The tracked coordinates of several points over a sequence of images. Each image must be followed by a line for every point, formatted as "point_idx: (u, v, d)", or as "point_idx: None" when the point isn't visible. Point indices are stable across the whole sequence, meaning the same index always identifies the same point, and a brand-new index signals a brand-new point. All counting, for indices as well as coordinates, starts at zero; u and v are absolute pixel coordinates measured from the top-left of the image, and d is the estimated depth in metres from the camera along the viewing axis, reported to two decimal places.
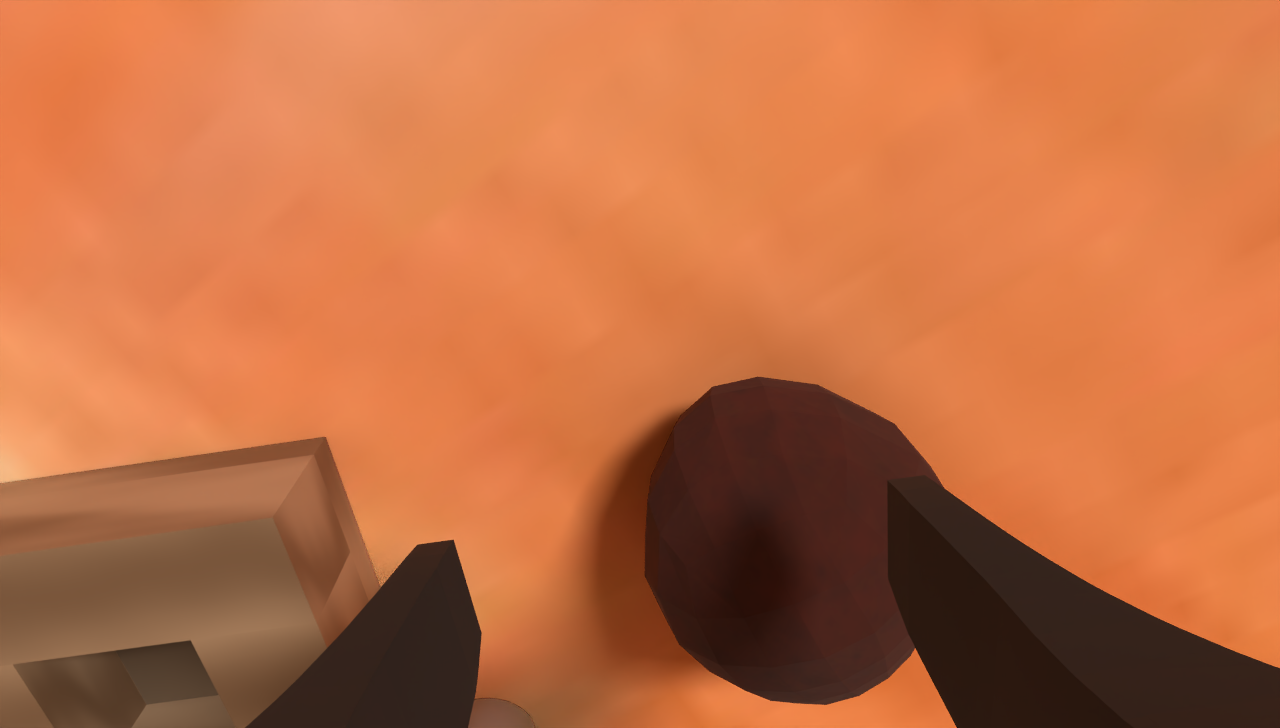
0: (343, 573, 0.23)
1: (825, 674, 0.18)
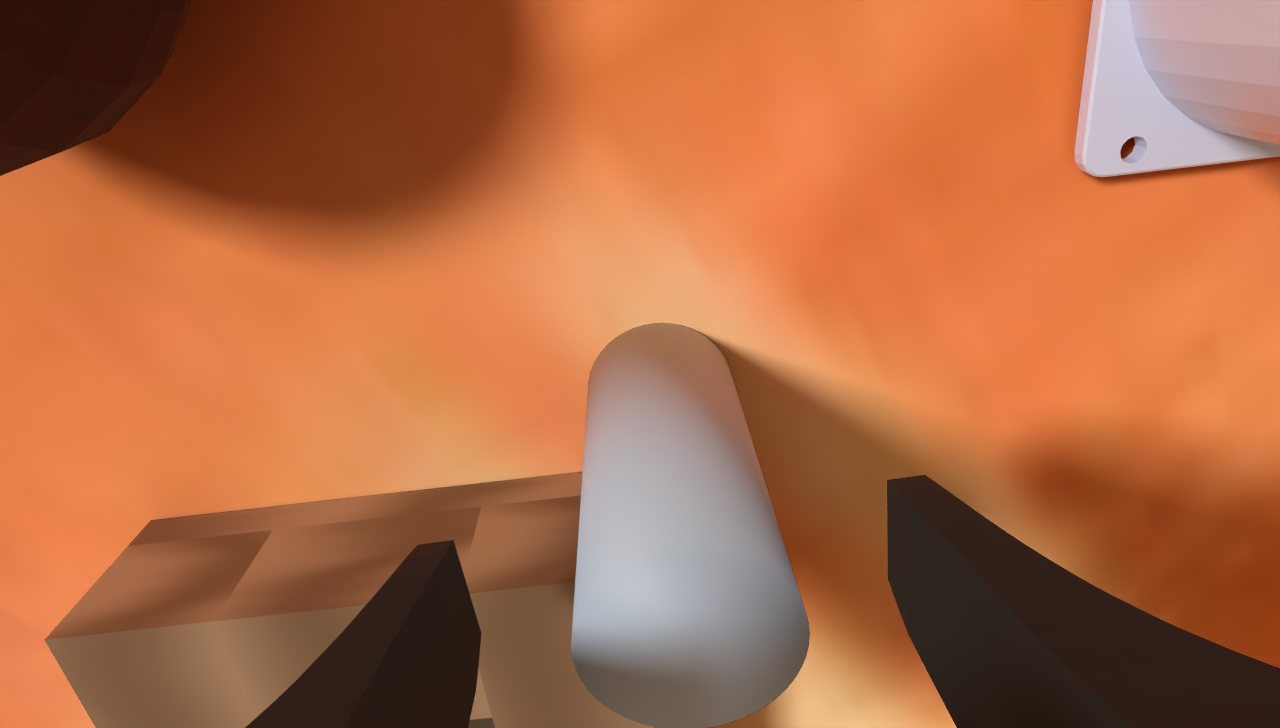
0: (265, 551, 0.18)
1: None
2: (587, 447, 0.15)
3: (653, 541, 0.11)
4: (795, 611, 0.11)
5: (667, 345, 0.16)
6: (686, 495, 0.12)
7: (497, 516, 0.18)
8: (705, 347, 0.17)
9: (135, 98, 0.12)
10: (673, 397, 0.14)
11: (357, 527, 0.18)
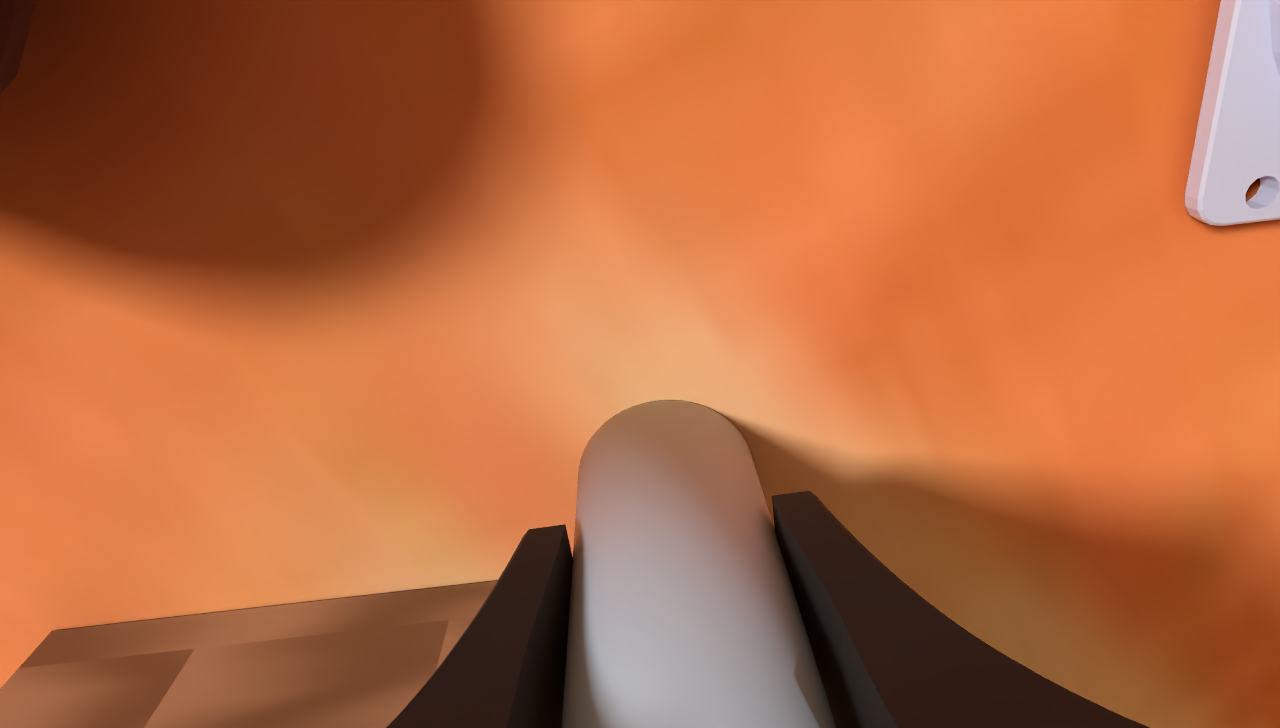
0: (181, 680, 0.14)
1: None
2: (575, 577, 0.12)
3: None
4: None
5: (676, 434, 0.13)
6: (710, 695, 0.08)
7: None
8: (722, 432, 0.14)
9: None
10: (686, 516, 0.11)
11: (297, 648, 0.15)
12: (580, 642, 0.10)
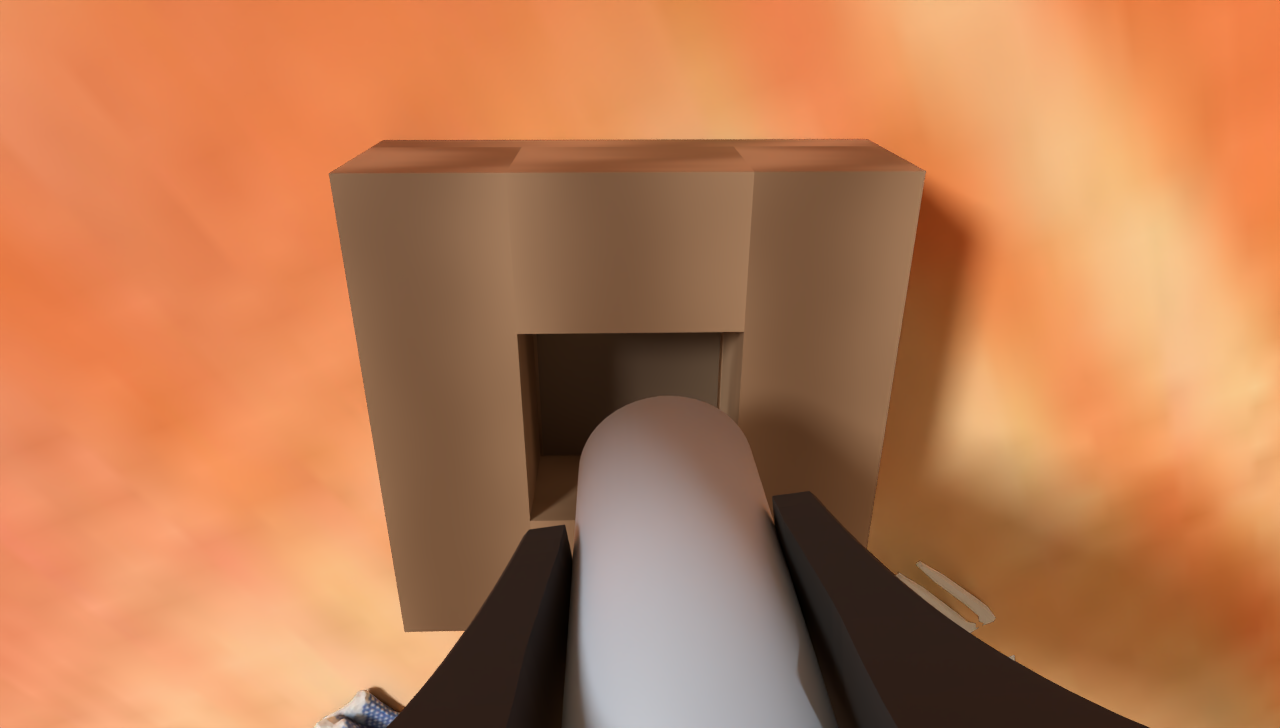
0: (524, 153, 0.18)
1: None
2: (577, 569, 0.12)
3: None
4: None
5: (679, 429, 0.13)
6: (716, 686, 0.08)
7: (755, 149, 0.18)
8: (724, 429, 0.14)
9: None
10: (690, 511, 0.11)
11: (612, 149, 0.18)
12: (582, 633, 0.10)
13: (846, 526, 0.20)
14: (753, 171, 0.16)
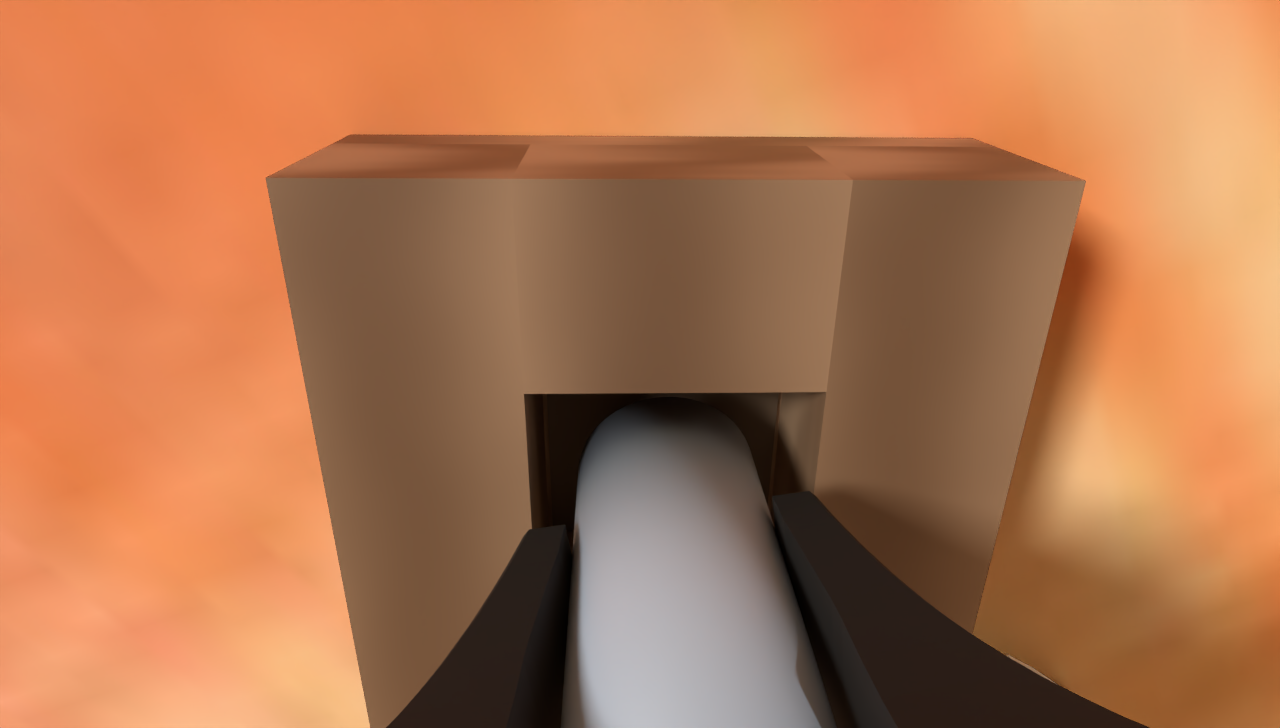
0: (534, 152, 0.13)
1: None
2: (576, 570, 0.12)
3: None
4: None
5: (678, 430, 0.13)
6: (714, 688, 0.08)
7: (837, 150, 0.14)
8: (724, 430, 0.14)
9: None
10: (689, 512, 0.11)
11: (650, 148, 0.14)
12: (581, 634, 0.10)
13: None
14: (851, 179, 0.11)
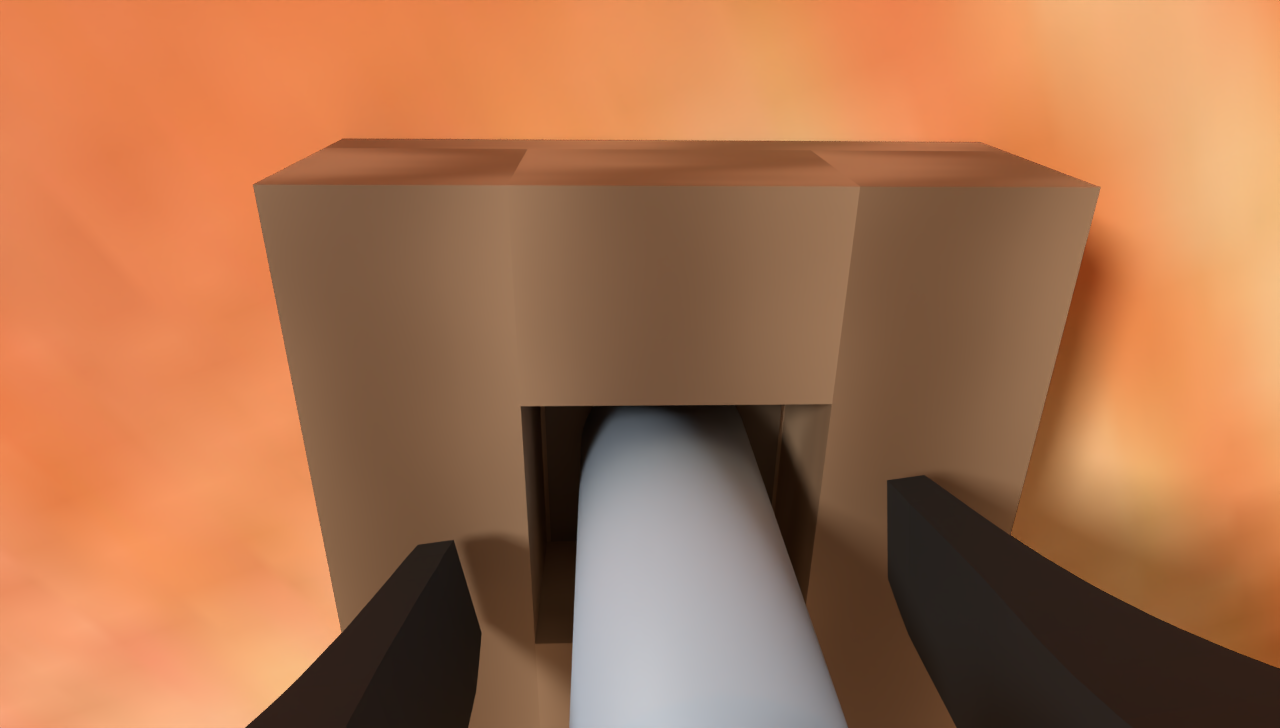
0: (532, 157, 0.13)
1: None
2: (583, 524, 0.13)
3: (673, 679, 0.08)
4: None
5: None
6: (712, 611, 0.09)
7: (842, 155, 0.13)
8: None
9: None
10: (686, 469, 0.12)
11: (650, 153, 0.13)
12: (590, 576, 0.11)
13: None
14: (859, 185, 0.11)
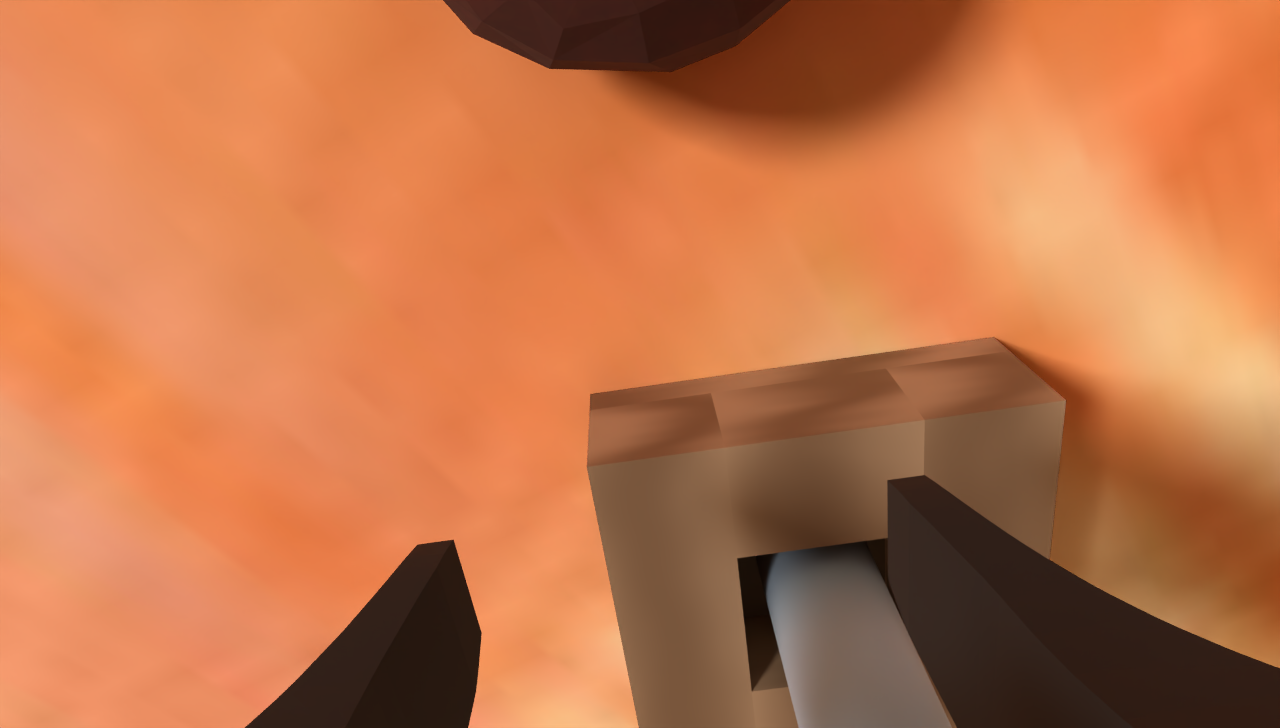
0: (719, 405, 0.21)
1: None
2: (780, 623, 0.21)
3: (863, 721, 0.17)
4: None
5: None
6: (875, 680, 0.18)
7: (907, 373, 0.22)
8: None
9: None
10: (839, 586, 0.21)
11: (787, 387, 0.22)
12: (796, 659, 0.20)
13: None
14: (924, 419, 0.19)
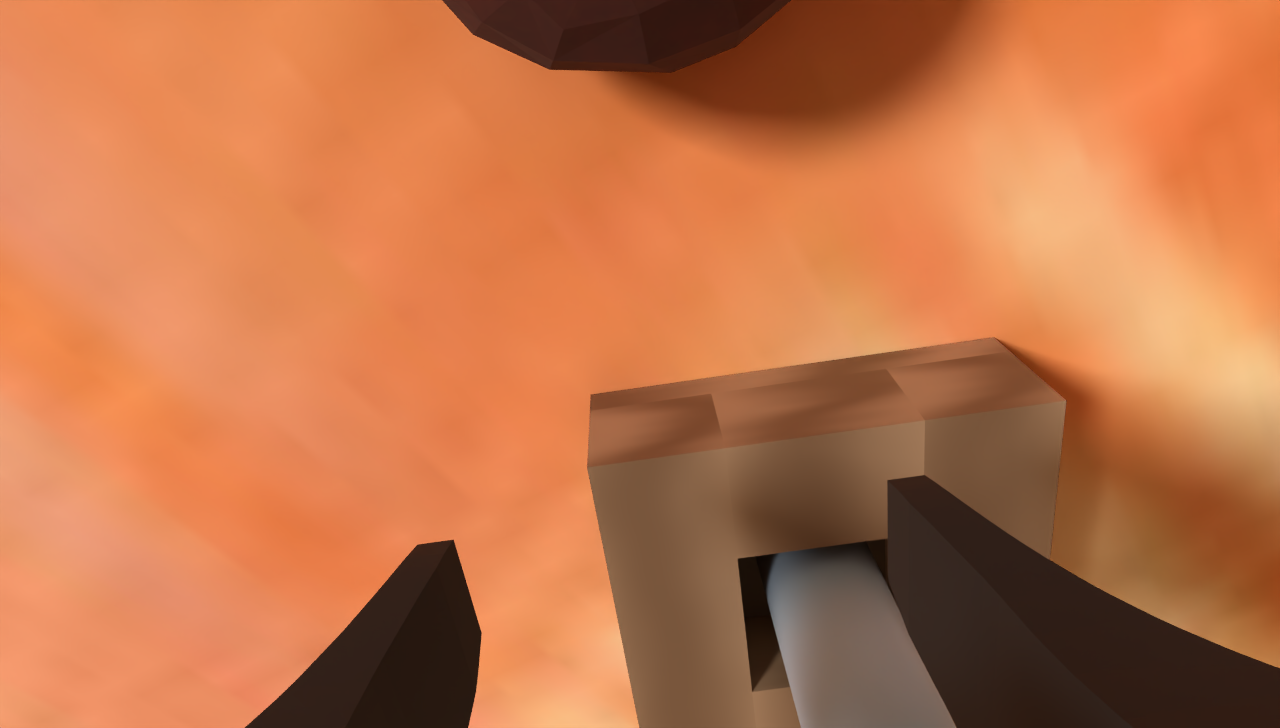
0: (720, 406, 0.21)
1: None
2: (781, 622, 0.21)
3: (864, 716, 0.17)
4: None
5: None
6: (876, 676, 0.18)
7: (907, 373, 0.22)
8: None
9: None
10: (839, 584, 0.21)
11: (788, 387, 0.22)
12: (797, 657, 0.20)
13: None
14: (924, 419, 0.19)
